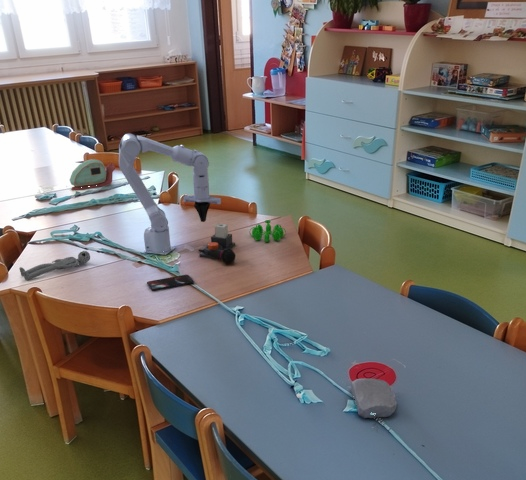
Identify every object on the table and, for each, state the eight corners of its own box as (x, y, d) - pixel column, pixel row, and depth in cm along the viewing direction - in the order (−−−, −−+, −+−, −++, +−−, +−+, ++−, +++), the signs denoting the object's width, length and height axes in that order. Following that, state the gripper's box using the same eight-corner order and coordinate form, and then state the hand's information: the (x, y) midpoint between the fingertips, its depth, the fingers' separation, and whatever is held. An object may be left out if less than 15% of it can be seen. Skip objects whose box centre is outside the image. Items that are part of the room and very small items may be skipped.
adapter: (199, 257, 219) (199, 249, 218) (217, 243, 232) (216, 236, 230) (218, 259, 217) (218, 252, 215) (235, 245, 230) (235, 238, 228)
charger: (215, 241, 225) (214, 226, 222) (218, 238, 228) (218, 223, 225) (224, 242, 224) (224, 227, 221) (228, 239, 227) (227, 224, 224)
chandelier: (266, 246, 228) (266, 229, 225) (242, 237, 238) (241, 220, 234) (293, 237, 237) (293, 221, 233) (269, 228, 246) (269, 213, 243)
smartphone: (194, 281, 198) (151, 289, 192) (194, 283, 198) (152, 291, 193) (187, 274, 203) (146, 281, 198) (187, 275, 204) (146, 283, 198)
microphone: (196, 260, 224) (230, 268, 210) (191, 247, 220) (224, 254, 207) (206, 252, 226) (240, 259, 213) (200, 240, 223) (235, 246, 209)
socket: (211, 249, 226) (210, 237, 224) (217, 244, 231) (217, 232, 228) (226, 251, 224) (226, 239, 222) (232, 246, 229) (232, 234, 226)
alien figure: (17, 264, 203) (84, 246, 215) (20, 277, 206) (87, 258, 218) (23, 271, 198) (92, 253, 210) (27, 284, 200) (95, 265, 212)
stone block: (384, 394, 144) (346, 389, 142) (390, 378, 141) (351, 374, 139) (397, 425, 134) (356, 420, 132) (404, 409, 131) (362, 404, 129)
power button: (206, 249, 219) (206, 245, 218) (210, 245, 222) (210, 241, 221) (215, 250, 218) (215, 246, 217) (220, 247, 221) (220, 242, 220)
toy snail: (73, 191, 299) (68, 164, 292) (69, 188, 305) (64, 161, 298) (119, 184, 311) (116, 158, 304) (114, 181, 316) (111, 155, 309)
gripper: (179, 187, 215) (182, 222, 222) (215, 189, 212) (217, 225, 219) (186, 182, 221) (188, 217, 228) (222, 185, 217) (223, 220, 224)
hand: (203, 221), depth 224 cm, fingers closed
